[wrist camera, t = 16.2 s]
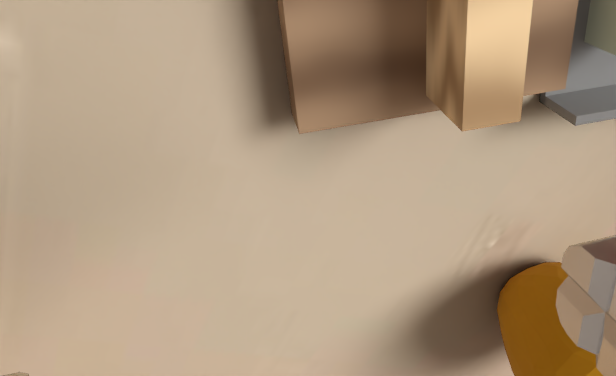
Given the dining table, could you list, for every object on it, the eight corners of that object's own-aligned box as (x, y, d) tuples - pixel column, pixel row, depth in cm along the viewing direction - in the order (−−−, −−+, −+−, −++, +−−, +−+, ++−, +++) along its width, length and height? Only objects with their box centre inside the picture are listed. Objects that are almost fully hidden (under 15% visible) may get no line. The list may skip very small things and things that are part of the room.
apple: (624, 261, 44) (763, 388, 33) (537, 350, 48) (635, 490, 37) (533, 212, 40) (658, 339, 29) (445, 314, 44) (526, 460, 33)
